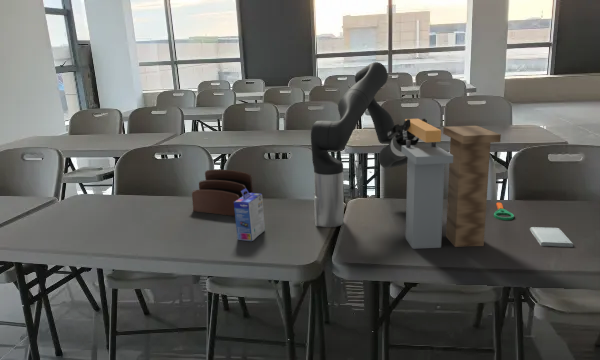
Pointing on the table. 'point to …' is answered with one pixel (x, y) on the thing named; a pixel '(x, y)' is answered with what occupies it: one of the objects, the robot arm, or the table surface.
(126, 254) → the table surface
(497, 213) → the magnifying glass
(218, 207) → the letter holder
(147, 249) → the table surface
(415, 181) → the tall gray pegged stand
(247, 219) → the ink cartridge box
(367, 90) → the robot arm
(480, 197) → the tall walnut stand
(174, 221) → the table surface
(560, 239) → the hard drive
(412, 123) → the orange bar
